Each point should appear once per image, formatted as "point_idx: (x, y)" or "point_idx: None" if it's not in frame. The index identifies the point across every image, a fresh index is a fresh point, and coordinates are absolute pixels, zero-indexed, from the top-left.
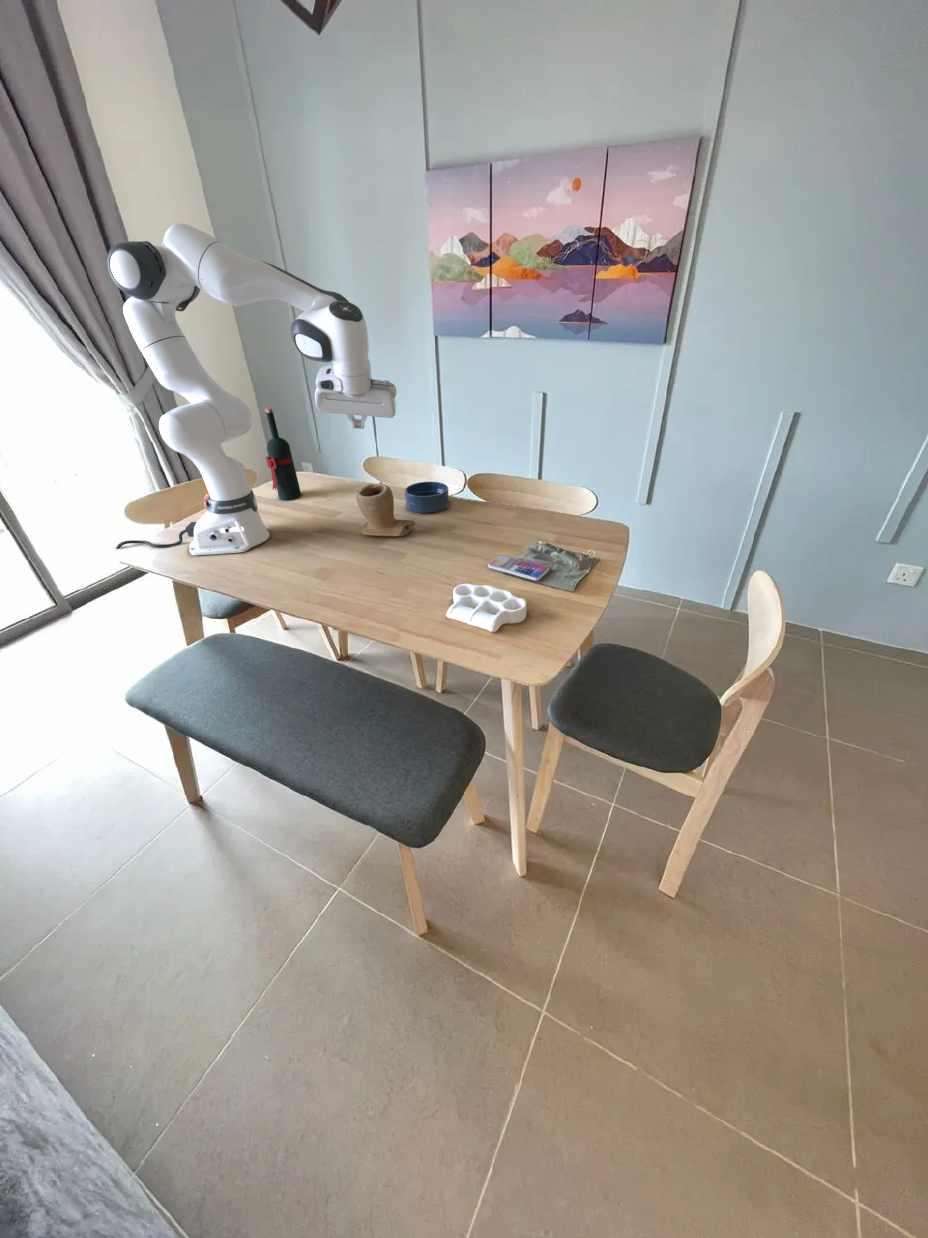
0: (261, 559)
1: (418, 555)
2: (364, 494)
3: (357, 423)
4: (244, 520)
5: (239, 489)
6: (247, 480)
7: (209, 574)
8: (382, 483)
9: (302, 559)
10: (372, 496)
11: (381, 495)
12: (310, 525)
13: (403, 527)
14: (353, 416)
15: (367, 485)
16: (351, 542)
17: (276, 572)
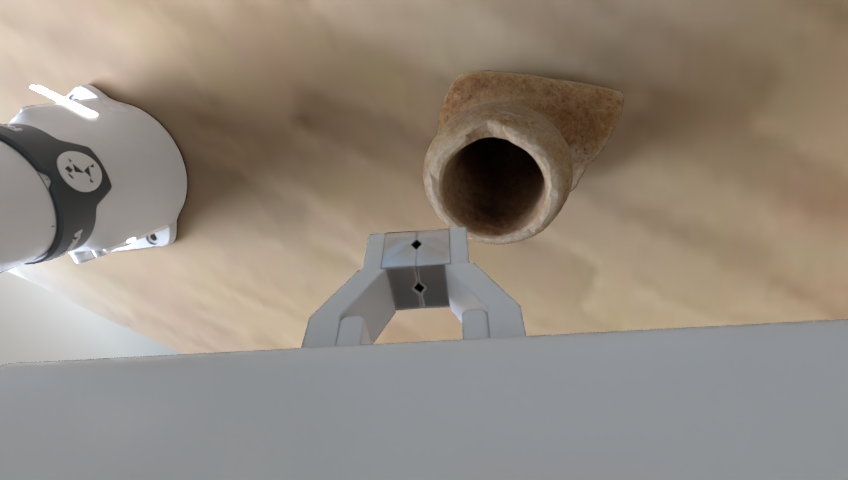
0: (234, 276)
1: (629, 280)
2: (451, 161)
3: (420, 306)
4: (116, 231)
5: (27, 246)
6: (1, 195)
7: (168, 331)
8: (530, 137)
9: (328, 282)
10: (502, 242)
11: (537, 232)
12: (256, 71)
13: (585, 168)
14: (367, 295)
15: (460, 140)
16: (422, 195)
17: (298, 334)
